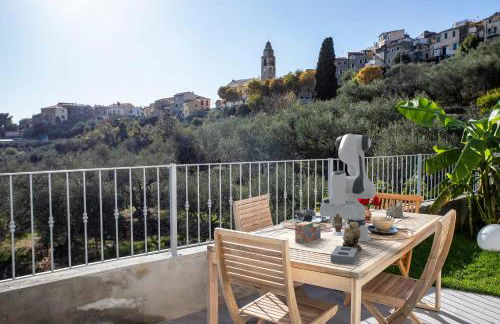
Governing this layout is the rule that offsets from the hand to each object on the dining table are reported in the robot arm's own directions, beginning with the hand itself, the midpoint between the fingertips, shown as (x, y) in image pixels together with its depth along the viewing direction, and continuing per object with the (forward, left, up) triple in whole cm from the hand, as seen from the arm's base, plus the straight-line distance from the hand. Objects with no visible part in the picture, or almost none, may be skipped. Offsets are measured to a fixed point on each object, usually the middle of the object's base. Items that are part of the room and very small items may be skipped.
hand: (338, 225), depth 220 cm
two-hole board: (-4, +3, -19) cm, 20 cm away
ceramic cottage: (-149, +25, -20) cm, 152 cm away
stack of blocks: (-38, -26, -20) cm, 50 cm away
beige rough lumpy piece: (-24, +4, -20) cm, 31 cm away
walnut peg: (0, 0, -4) cm, 4 cm away
